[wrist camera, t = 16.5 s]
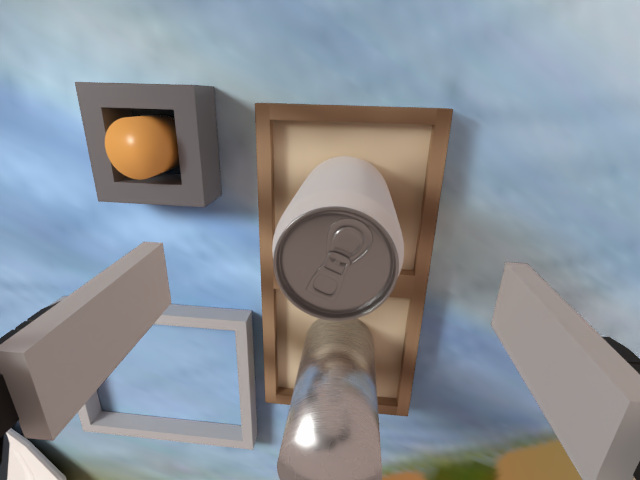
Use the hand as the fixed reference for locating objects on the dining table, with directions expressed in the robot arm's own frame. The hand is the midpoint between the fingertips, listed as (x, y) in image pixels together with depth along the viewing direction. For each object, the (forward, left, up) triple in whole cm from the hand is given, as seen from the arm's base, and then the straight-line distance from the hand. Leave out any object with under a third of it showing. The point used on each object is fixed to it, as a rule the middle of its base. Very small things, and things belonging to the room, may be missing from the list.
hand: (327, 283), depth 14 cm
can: (0, 0, -14) cm, 14 cm away
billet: (+13, 0, -14) cm, 19 cm away
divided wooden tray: (+7, 0, -15) cm, 17 cm away
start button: (-3, -14, -15) cm, 20 cm away
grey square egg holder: (-3, -14, -15) cm, 21 cm away
